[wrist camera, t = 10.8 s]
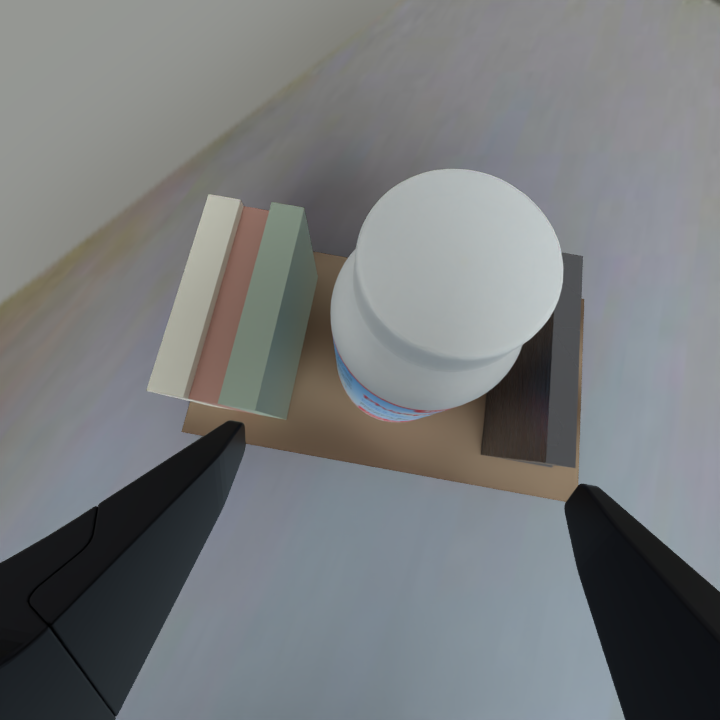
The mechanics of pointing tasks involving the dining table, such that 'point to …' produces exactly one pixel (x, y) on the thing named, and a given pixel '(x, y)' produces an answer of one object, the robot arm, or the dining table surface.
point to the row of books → (240, 310)
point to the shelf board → (381, 438)
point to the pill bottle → (442, 293)
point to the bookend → (541, 388)
